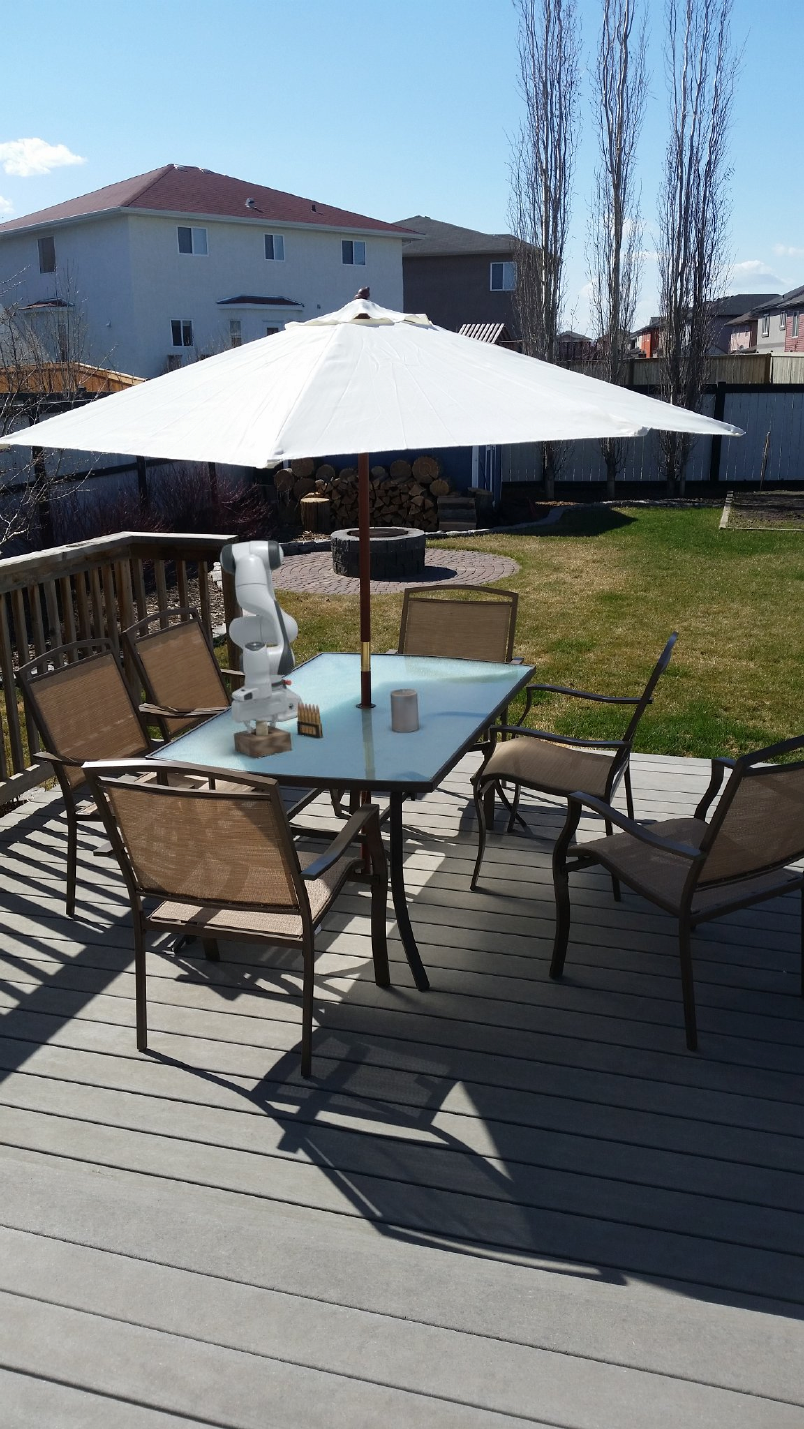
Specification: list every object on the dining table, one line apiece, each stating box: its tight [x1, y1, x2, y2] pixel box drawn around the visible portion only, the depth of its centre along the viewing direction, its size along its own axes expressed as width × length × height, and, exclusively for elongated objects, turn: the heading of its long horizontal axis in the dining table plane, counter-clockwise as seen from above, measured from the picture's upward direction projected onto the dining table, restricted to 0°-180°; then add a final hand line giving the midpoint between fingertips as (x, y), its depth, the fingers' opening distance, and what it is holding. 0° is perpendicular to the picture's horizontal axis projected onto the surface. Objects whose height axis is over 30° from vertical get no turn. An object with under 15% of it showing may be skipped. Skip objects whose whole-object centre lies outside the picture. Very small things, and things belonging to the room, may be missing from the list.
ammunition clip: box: [296, 702, 324, 740], centre depth 377 cm, size 11×2×12 cm, turn 52°
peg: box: [254, 720, 269, 737], centre depth 363 cm, size 4×4×10 cm
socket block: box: [233, 724, 293, 759], centre depth 364 cm, size 14×14×6 cm
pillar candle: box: [390, 688, 420, 734], centre depth 380 cm, size 10×10×15 cm
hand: (261, 730), depth 363 cm, fingers open, 7 cm apart
